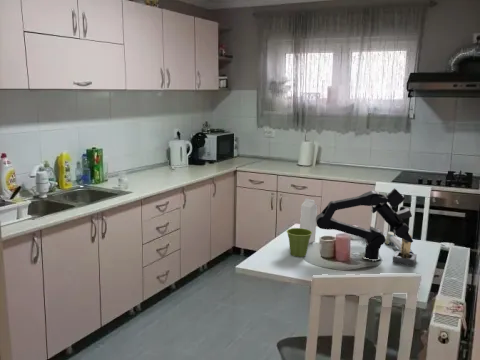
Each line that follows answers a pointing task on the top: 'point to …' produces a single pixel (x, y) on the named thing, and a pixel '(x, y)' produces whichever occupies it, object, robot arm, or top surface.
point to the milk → (309, 217)
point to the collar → (404, 259)
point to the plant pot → (298, 241)
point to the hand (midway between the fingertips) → (409, 238)
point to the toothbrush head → (394, 241)
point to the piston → (405, 248)
